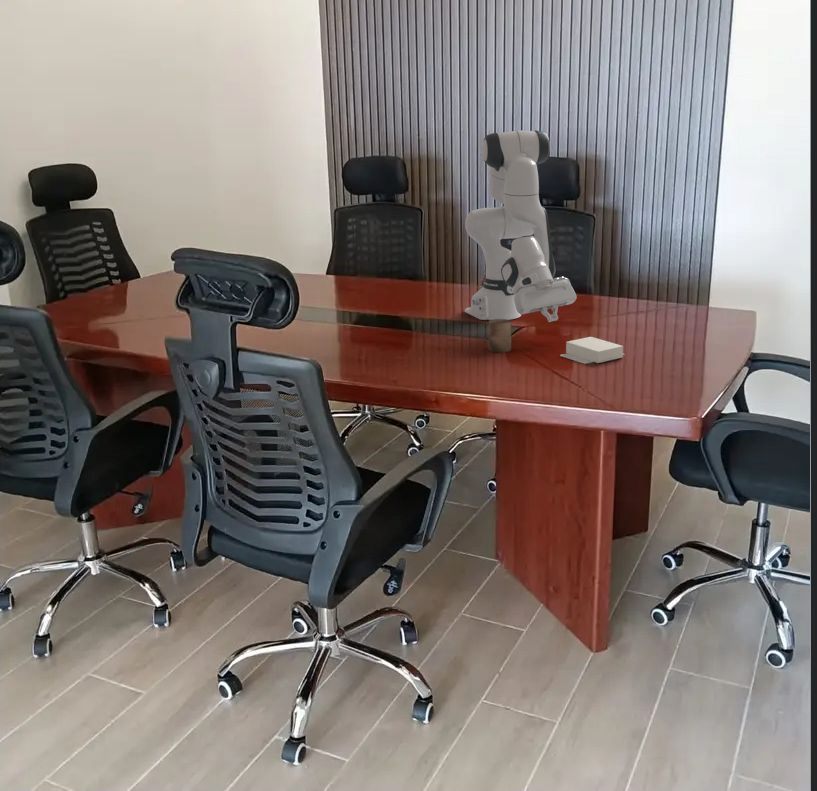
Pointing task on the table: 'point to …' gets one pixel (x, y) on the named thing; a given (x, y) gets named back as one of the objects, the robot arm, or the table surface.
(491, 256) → the robot arm
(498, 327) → the tan cardboard tube
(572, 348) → the card box
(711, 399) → the table surface
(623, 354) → the felt mat
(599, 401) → the table surface
